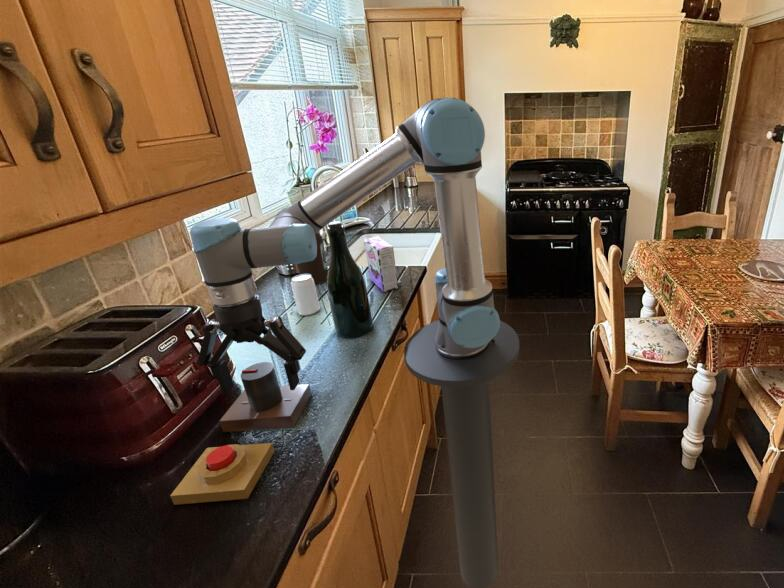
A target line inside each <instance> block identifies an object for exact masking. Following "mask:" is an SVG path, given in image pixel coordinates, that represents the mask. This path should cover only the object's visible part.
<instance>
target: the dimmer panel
mask: <svg viewBox="0 0 784 588" xmlns="http://www.w3.org/2000/svg"><path fill="white" fill-rule="evenodd" d="M279 386H280V389H281V393H282V399H281V401H280V402H279V403H278V404H277V405H275V406H274V407H272V408H270V409H267V410H264V411H254V410H252V409H251V407H250V404H249V401H248V398H247V395H246V392H245V389H243V391H242V392H241V393H240V394H239V396H238V397H237V398H236V400H235V401H234V402H233V403H232V404H231V406H230V407H229V408H228V410H227V411H226V412H225V413H224V414H223V416H222V417H221V418H220V420H219V421H218V422H219V424H220V427H221V430H222V432H223V433H234V432H246V431H260V430H274V429H289V428H294V427H295V426H296V424H297V422H298V420H299V419H300V416H301V414H302V413H303V412H304V409H305V407H306V406H307V404H308V402H309V400H310V398H311V397H312V394H313V393H312V390H311V386H310V383H304V384H302V383H301V384H298V385H297V386H296V388H295V389H294V390H290V386H289V384H288V385H287V384H286V385H279Z"/></svg>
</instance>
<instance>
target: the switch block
mask: <svg viewBox="0 0 784 588" xmlns="http://www.w3.org/2000/svg"><path fill="white" fill-rule="evenodd" d="M227 445H228V446H231V447H232V448H233V450H234V453H235V456H236V457H235V460H234V461H233V462H232V463H231V464H230V465H228V466H227V467H225V468H223V469H221V470H218V471H211V470H210V469H209V467H208V465H207V462H206V458H207V456H208V455H209V454H210V453H211V452H212V451H213V450H215V449H217V448H219V447H220V446H213V447H211V446H210V447H207V448H205V450H204V451H203V452H202V454H201V455H200V456H199V457H198V458H197V460H196V461H195V463H194V464H193V465H192V467H191V468H190V469H189V470H188V472H187V473H186V474H185V476H184V477H183V478H182V480H181V481H180V482H179V483H178V485H177V486H176V487H175V489H174V490H173V491H172V493H170V495H169V498H170V499H171V502H172V503H173V505H174V506H177V505H189V504H199V503H200V504H201V503H210V502H211V503H213V502H223V501H235V500H236V501H237V500H246V499H249V498H250V496H251V494H252V492H253V490H254V489H255V487H256V485H257V484H258V481H259V480H260V478H261V477H262V474H263V473H264V471H265V470H266V467H267V466H268V464H269V462H270V460H271V459H272V456H273V455H274V454H275V448H274V444H273V442H266V443H265V442H264V443H252V444H237V443H236V444H235V443H234V444H227ZM227 445H225V446H227Z"/></svg>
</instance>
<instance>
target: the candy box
mask: <svg viewBox="0 0 784 588" xmlns="http://www.w3.org/2000/svg"><path fill="white" fill-rule="evenodd" d="M363 244H364V248H365V254H366V260H367V266H368V274H369V279H370V281H371V282H372V283H373V284H374V285H375V286H376V287H377V288H378V289H380V291H382V292H383V293H387V292H391V291H393V290H397V289H399V283H398V277H397V268H396V260H395V251H394V246H393V244H390V243H389V242H388V241H386V240H384V239H383V238H381V237H380V236H379V235H377V236H373V237H369V238H364V239H363Z"/></svg>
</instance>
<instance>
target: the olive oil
mask: <svg viewBox="0 0 784 588" xmlns="http://www.w3.org/2000/svg"><path fill="white" fill-rule="evenodd" d="M315 236H316V242H317V256H316V258H315V259H314V260H313V261H309V262H303V263H300V264H296V266H297V269H298V273H299V275H300V274H310V275H311V277H312V278H313V280H314V283H315V285H318V284H322V283H324V282H327V275H328V270H329V268H328V263H327V256H326V250H325V242H324V238H323V236H322V235H321V233H320V232H319V231H318V232H316V233H315Z"/></svg>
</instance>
